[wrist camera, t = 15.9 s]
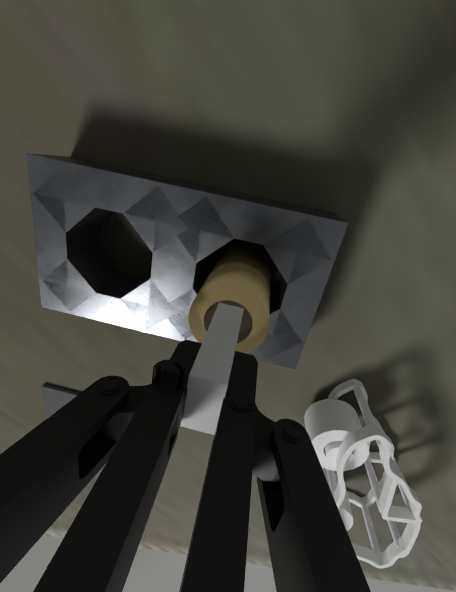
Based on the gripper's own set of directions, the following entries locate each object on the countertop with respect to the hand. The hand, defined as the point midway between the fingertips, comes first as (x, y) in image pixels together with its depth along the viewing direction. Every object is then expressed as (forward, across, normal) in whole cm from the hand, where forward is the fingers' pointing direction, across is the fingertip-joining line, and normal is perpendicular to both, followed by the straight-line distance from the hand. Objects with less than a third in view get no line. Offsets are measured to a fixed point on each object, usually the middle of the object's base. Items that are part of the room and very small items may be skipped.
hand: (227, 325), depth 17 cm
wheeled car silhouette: (+12, +17, -19) cm, 28 cm away
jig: (+11, -6, 0) cm, 13 cm away
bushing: (+11, 0, 0) cm, 11 cm away
